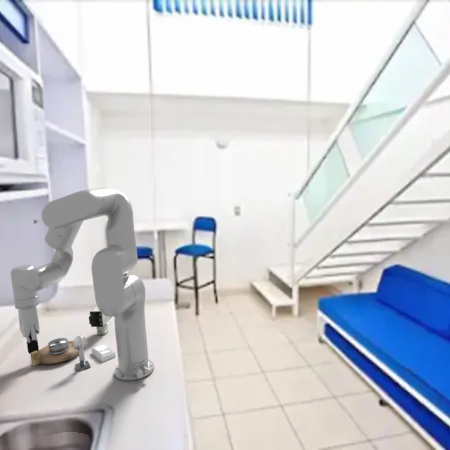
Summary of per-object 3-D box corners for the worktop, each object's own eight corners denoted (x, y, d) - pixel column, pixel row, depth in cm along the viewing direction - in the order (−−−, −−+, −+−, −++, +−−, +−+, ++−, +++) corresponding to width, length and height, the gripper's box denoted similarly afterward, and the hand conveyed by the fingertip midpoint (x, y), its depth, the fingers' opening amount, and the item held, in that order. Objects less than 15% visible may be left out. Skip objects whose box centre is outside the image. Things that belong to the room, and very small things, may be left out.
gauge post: (91, 367, 126) (87, 336, 125) (77, 371, 124) (73, 340, 122) (88, 362, 130) (84, 332, 128) (74, 366, 127) (71, 336, 126)
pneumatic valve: (113, 327, 159) (111, 300, 157) (102, 339, 148) (99, 310, 146) (101, 327, 160) (98, 300, 158) (88, 339, 148) (85, 310, 146)
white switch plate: (104, 349, 139) (104, 343, 139) (115, 357, 133) (114, 350, 132) (91, 354, 136) (91, 347, 136) (102, 362, 130) (101, 355, 129)
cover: (73, 347, 137) (72, 338, 137) (60, 356, 131) (59, 346, 130) (57, 345, 139) (56, 336, 139) (44, 354, 133) (43, 344, 132)
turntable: (67, 340, 146) (65, 331, 145) (89, 349, 137) (88, 339, 136) (22, 359, 133) (21, 348, 132) (44, 370, 124) (42, 359, 123)
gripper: (11, 299, 133) (17, 347, 135) (18, 309, 121) (25, 363, 123) (34, 294, 137) (40, 341, 140) (43, 304, 125) (49, 355, 128)
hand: (33, 351), depth 132 cm, fingers closed
